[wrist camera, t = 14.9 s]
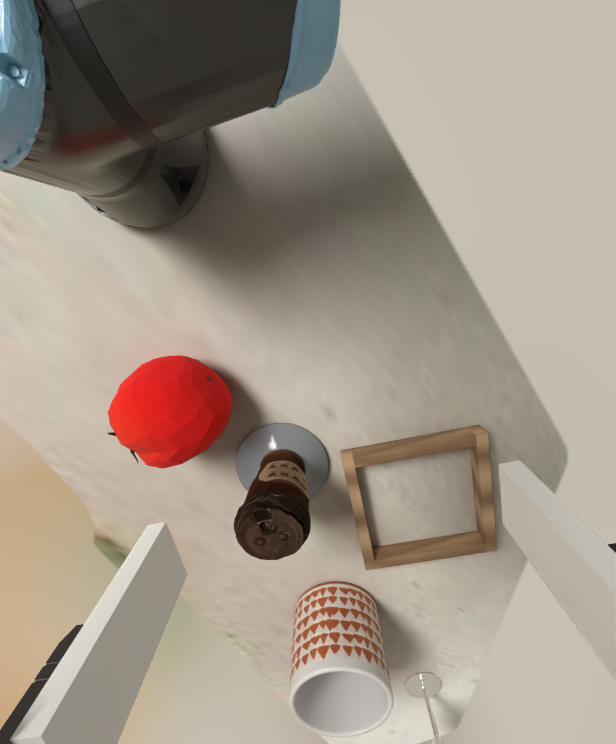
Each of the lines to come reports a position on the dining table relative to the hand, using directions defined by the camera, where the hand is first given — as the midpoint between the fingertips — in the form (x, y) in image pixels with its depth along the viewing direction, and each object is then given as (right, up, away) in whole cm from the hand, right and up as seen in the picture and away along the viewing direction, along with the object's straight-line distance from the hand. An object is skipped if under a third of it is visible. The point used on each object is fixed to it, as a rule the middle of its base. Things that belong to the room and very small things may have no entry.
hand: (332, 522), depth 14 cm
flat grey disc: (-5, -7, +36) cm, 37 cm away
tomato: (-17, +3, +33) cm, 37 cm away
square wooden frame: (+15, -12, +37) cm, 41 cm away
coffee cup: (-4, -7, +35) cm, 36 cm away
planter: (+4, -34, +44) cm, 56 cm away
